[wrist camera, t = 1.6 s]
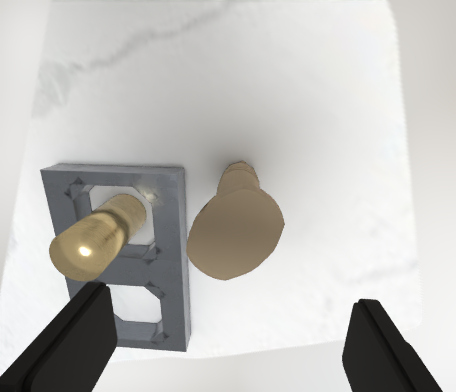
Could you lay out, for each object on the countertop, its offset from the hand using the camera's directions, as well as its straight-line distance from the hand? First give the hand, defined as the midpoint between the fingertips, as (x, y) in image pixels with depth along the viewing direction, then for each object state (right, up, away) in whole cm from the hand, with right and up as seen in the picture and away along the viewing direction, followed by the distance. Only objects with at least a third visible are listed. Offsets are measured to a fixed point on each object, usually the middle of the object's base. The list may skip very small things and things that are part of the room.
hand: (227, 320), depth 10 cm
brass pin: (-13, +3, +22) cm, 26 cm away
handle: (+1, +7, +20) cm, 21 cm away
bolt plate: (-13, -3, +25) cm, 28 cm away
